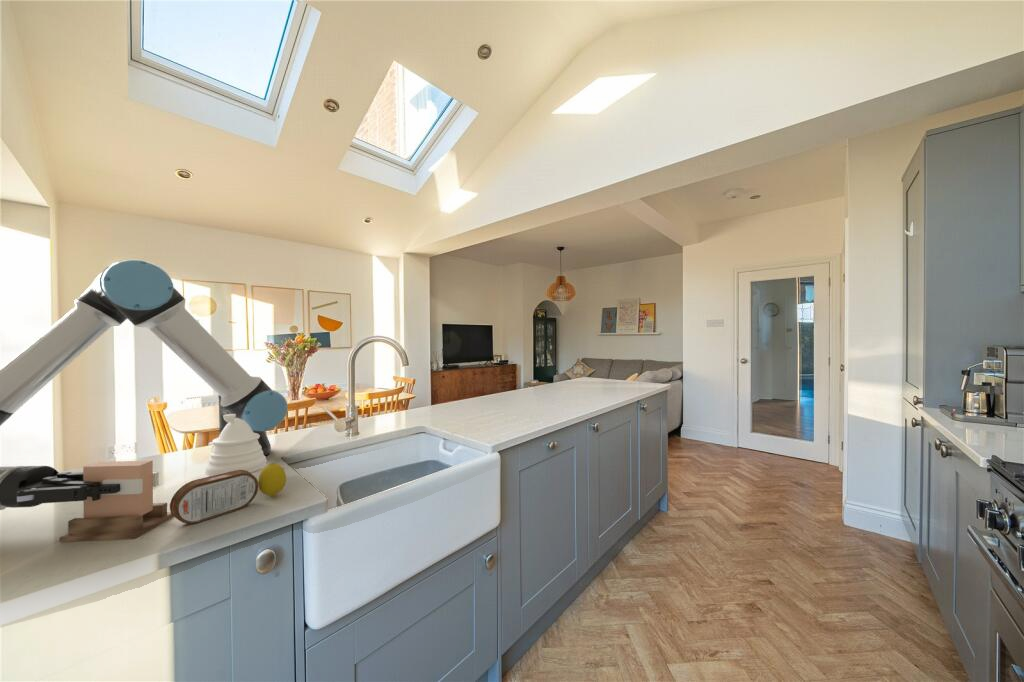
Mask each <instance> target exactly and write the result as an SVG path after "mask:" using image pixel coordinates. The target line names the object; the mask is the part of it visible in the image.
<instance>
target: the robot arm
mask: <svg viewBox="0 0 1024 682" xmlns="http://www.w3.org/2000/svg"><path fill="white" fill-rule="evenodd" d="M127 320H128V321H129V322H131V323H132V325H134V326H135V327H138V328H146V329H149V331H151V332H152V333H153V334H154V335H155V336H156V337H157V338H158V339H159V340H161V342H163V344H165V345H166V346H167V347H168V348H169V349H170V350H171V351H172V352H173V353H174V354H175V355H176V356H177V357H178V358H180V360H181V361H183V362H184V363H185V364H186V366H188V367H189V368H190V369H191V370H192V371H193V372H194V373H195V374H196V375H197V376H198V377H200V378H201V379H202V380H203V381H204V382H205V384H207V385H208V386H209V387H210V388H211V389H213V391H214V392H216V393H217V394H218V396H217V398H218V412H219V413H218V419H219V420H218V425H219V426H218V427H219V428H218V429H219V433H218V434H219V435H220V434H221V432H222V430H223V429H224V427H225V426H226V425H227V424H228V422H226V421H225V420H224V418H223V415H227V414H236V417H235V418H239V419H242V420H244V421H245V422H246V423H247V424H248V425H249V426H250V427H251V429H252V430H253V432H254V433H257V434H259V435H260V437H259V439H257V440H258V442H259V444H260V445H261V447H262V448H261V449H262V451H263V454H264V456H265V455H267V454H268V453H270V452H272V447H271V443H270V442H271V441H270V440H269V437H268V435H267V433H266V432H267V431H270V430H273V429H275V428H276V427H278V426H279V425H280V424H281V423H282V422H283V420H284V419H285V418H286V416H287V413H288V402H287V399H286V398H285V396H284V395H282V394H281V393H280V392H278V391H276V390H273V389H272V388H271V387H270V386H269V385H268V384H267V383H266V382H265V381H264V379H262V378H261V377H260V376H251V375H250V374H249V373H248V372H247V371H246V370H245V369H244V368H243V367H242V366H241V365H240V364H239V363H238V361H236V360H235V358H233V357H232V355H231V354H229V352H228V351H227V350H226V349H225V348H224V347H223V346H222V345H221V344H220V343H219V342H218V341H217V339H215V338H214V337H213V336H212V334H210V333H209V332H208V330H206V329H205V328H204V327H203V326H202V325H201V323H199V321H198V320H197V319H195V317H194V316H193V315H191V313H190V312H189V311H188V310H187V309H186V298H185V297H184V296H183V295H182V294H181V293H180V292H179V291H178V290H177V289H176V288H175V286H174V283H173V280H172V279H171V276H170V275H169V274H168V273H167V272H166V270H164V269H163V268H162V267H160V266H158V265H156V264H154V263H153V262H152V263H151V262H150V261H149V262H148V261H146V260H140V259H126V260H121V261H117V262H114V263H112V264H110V265H109V266H106V267H105V268H104V269H103V271H101V272H100V273H99V274H98V275H97V277H96V278H95V279H94V281H92V283H91V285H90V286H88V287H87V288H86V290H85V291H84V292H83V293H82V294H81V295H80V296H79V297H78V298H76V299H75V300H74V308H72V309H70V311H68V312H67V313H66V314H65V315H64V316H63V317H61V318H60V319H59V320H58V321H56V322H55V323H54V324H53V325H52V326H51V327H50V328H48V329H47V330H45V331H44V332H43V333H42V334H41V335H39V336H38V337H37V338H36V339H35V340H33V341H32V342H31V343H30V344H29V345H27V346H26V347H25V348H23V350H22V351H20V352H19V353H18V354H17V355H15V356H14V357H13V358H12V359H11V360H10V361H8V362H7V363H5V365H3V366H2V367H1V368H0V427H1V425H4V423H6V421H8V420H9V419H10V418H11V417H12V416H13V415H14V414H15V413H16V412H17V411H18V410H19V409H21V408H22V407H23V406H24V405H25V404H26V403H27V402H29V400H31V399H32V398H33V397H34V396H35V395H36V394H37V393H38V392H40V390H41V389H43V388H44V387H45V386H47V385H48V384H49V383H50V382H51V381H52V380H53V379H54V378H55V377H57V376H58V375H59V374H60V373H61V372H62V371H63V370H64V369H65V368H67V366H68V365H70V364H71V363H72V362H73V361H75V359H77V357H78V356H80V355H81V354H82V353H83V352H84V351H85V350H87V349H88V348H90V346H91V345H92V344H93V343H94V342H96V341H97V340H98V339H99V338H100V337H101V336H102V335H104V333H106V332H107V331H108V330H109V329H110V328H111V327H118V326H121V325H122V324H123V323H124V322H126V321H127ZM219 435H218V436H219ZM270 454H271V453H270ZM268 455H269V454H268ZM268 455H267V456H268ZM265 457H266V456H265ZM159 474H160V473H159V471H153V488H154V487H157V486H159V485H160V484H159V482H160V481H159V479H160V478H159ZM142 492H143V479H111V480H104V481H102V484H100V482H87V481H83V471H81V472H80V471H79V472H71V471H64V472H63V471H62V472H59V471H58V470H57V469H55V468H54V467H52V466H50V465H26V466H25V465H16V466H15V465H14V466H11V465H10V466H0V511H2V510H6V508H10V509H11V508H13V509H14V508H33V507H37V506H39V505H42V504H52V503H55V504H56V503H68V502H69V503H70V502H84V500H86V499H87V497H92V501H96V500H99V499H100V494H103V495H123V494H140V493H142Z"/></svg>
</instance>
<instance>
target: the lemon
mask: <svg viewBox="0 0 1024 682" xmlns="http://www.w3.org/2000/svg"><path fill="white" fill-rule="evenodd" d="M286 483H287V474H286V471H285V469H284V467H283V466H281V465H280V464H277V463H274V462H272V463H271V462H270V463H269V465H266V467H265V468H264V469H263V470H262V471H261V473H260V476H259V480H258V490H260V492H261V493H262V494H263V495H265V496H269V497H271V498H274V497H276V495H277V494H279V493H280V492H281V491H282V490H283V489H284V487H285V485H286Z"/></svg>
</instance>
